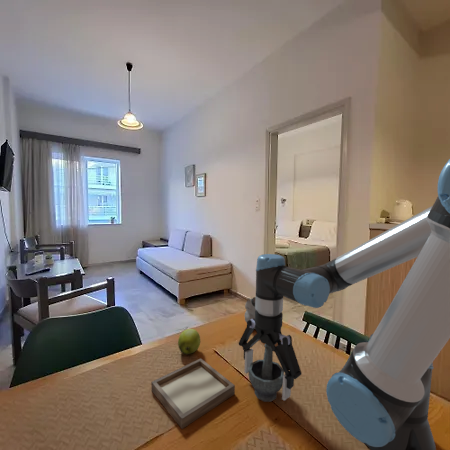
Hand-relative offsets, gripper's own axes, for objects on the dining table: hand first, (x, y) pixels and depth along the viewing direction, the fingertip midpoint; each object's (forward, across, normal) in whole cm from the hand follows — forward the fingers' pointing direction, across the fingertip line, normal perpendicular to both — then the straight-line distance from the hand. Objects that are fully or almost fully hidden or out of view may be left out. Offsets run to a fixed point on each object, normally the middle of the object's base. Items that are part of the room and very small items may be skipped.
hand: (266, 383), depth 71 cm
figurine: (+3, +26, -24) cm, 35 cm away
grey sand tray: (+2, +13, +16) cm, 21 cm away
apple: (+3, +30, +6) cm, 31 cm away
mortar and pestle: (+3, 0, 0) cm, 3 cm away
